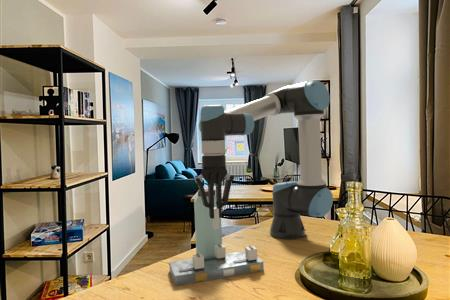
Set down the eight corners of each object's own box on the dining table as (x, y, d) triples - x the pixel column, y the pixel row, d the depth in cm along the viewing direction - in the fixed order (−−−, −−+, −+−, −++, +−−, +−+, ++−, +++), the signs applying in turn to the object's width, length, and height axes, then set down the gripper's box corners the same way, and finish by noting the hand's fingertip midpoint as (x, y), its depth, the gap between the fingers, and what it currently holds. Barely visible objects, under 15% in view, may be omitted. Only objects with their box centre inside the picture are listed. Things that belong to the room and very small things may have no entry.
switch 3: (253, 256, 114) (253, 244, 114) (257, 259, 111) (256, 247, 111) (245, 257, 113) (245, 246, 113) (248, 260, 110) (248, 248, 110)
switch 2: (223, 254, 117) (222, 243, 117) (225, 257, 114) (225, 245, 114) (214, 255, 116) (214, 244, 116) (217, 258, 113) (216, 247, 113)
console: (250, 258, 122) (249, 249, 122) (263, 270, 110) (263, 261, 110) (169, 271, 113) (169, 261, 113) (175, 286, 101) (175, 275, 101)
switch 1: (202, 264, 109) (201, 252, 108) (204, 267, 106) (203, 255, 106) (192, 265, 108) (192, 253, 108) (194, 269, 105) (194, 256, 105)
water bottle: (219, 262, 119) (216, 192, 118) (192, 261, 121) (189, 192, 120) (225, 252, 128) (222, 187, 127) (200, 252, 130) (197, 187, 129)
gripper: (229, 153, 113) (231, 223, 114) (191, 155, 109) (193, 227, 110) (236, 154, 105) (239, 228, 106) (196, 156, 102) (198, 233, 102)
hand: (216, 228), depth 108 cm, fingers closed
